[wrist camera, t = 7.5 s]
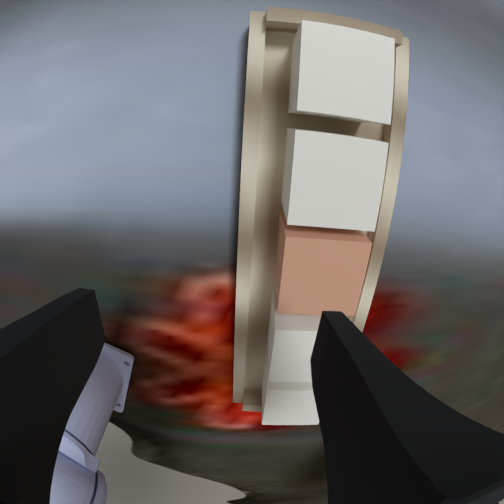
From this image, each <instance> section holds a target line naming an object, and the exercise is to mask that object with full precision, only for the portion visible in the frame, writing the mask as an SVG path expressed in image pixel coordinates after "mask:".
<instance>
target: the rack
mask: <svg viewBox="0 0 504 504" xmlns="http://www.w3.org/2000/svg"><path fill="white" fill-rule="evenodd" d="M302 20H306V21H314V22H320V23H327V24H333V25H338V26H344V27H349V28H353V29H358V30H363V31H367V32H371V33H375V34H379V35H383V36H387V37H390V38H394V39H395V57H394V85H393V101H392V114H391V125H387V124H375V123H360V122H354V121H348V120H342V119H335V118H328V117H320V116H312V115H303V114H293V113H288V106H289V90H290V74H291V56H292V42H293V40H294V37H295V35H296V33H297V30H298V28H299V26H300V23H301V21H302ZM408 78H409V39H408V38H405V37H402V31H399V30H396V29H392V28H389V27H385V26H381V25H378V24H374V23H370V22H366V21H361V20H357V19H352V18H348V17H343V16H337V15H332V14H326V13H320V12H313V11H305V10H297V9H287V8H276V7H267V12H253V11H251V12H250V27H249V41H248V57H247V73H246V89H245V106H244V124H243V143H242V162H241V183H240V204H239V227H238V251H237V277H236V306H235V337H234V373H233V402H234V403H243V410H242V411H257V412H262V380H263V372H264V363H265V355H266V347H268V346H267V338H268V329H269V320H270V310H271V301H272V291H273V290H275V279H274V271H275V261H276V250H277V240H278V229H279V218H280V210H283V206H282V202H281V197H282V185H283V173H284V160H285V147H286V134H287V128H295V129H305V130H314V131H323V132H330V133H338V134H345V135H352V136H358V137H363V138H368V139H373V140H378V141H382V142H387V143H389V144H388V153H387V161H386V168H385V175H384V182H383V188H382V195H381V201H380V206H379V212H378V218H377V223H376V228H375V232H373V231H363V232H364V234H365V235H366V236H367V237H368V238H369V240H370V241H371V242H372V247H371V252H370V256H369V261H368V265H367V269H366V273H365V278H364V282H363V286H362V290H361V294H360V298H359V301H358V305H357V309H356V312H355V316H347V317H348V318H349V319H350V320H351V321H352V322H353V324H354V325H355V326H356V327H357V328H358V329H359V330H360V331H361V332H362V331H363V328H364V325H365V322H366V319H367V315H368V312H369V309H370V305H371V302H372V298H373V295H374V291H375V287H376V284H377V280H378V276H379V272H380V268H381V264H382V260H383V256H384V251H385V247H386V243H387V238H388V233H389V229H390V224H391V219H392V214H393V208H394V203H395V197H396V192H397V185H398V179H399V173H400V166H401V158H402V151H403V142H404V133H405V123H406V111H407V97H408ZM283 211H284V210H283Z"/></svg>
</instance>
